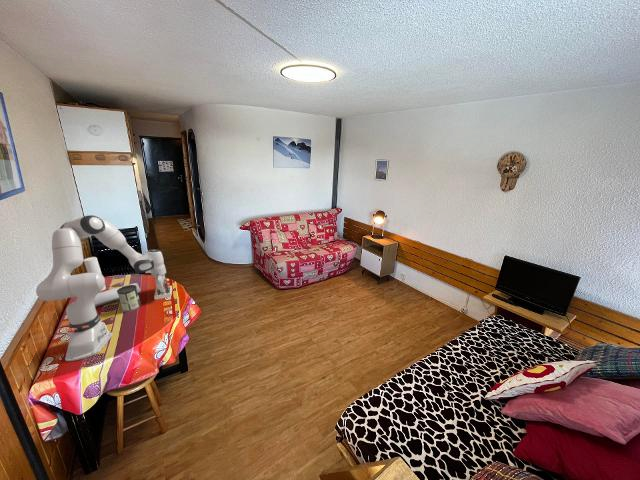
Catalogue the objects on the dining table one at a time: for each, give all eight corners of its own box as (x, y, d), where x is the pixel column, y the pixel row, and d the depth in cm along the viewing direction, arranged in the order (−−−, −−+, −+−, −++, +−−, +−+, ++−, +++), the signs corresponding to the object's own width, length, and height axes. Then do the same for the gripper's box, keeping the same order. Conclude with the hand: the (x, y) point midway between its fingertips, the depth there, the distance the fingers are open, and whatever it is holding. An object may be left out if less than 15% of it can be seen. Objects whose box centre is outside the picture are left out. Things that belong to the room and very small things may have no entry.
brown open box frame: (168, 295, 185) (165, 282, 182) (158, 297, 183) (155, 284, 179) (168, 291, 190) (166, 279, 187) (159, 293, 188) (156, 280, 184)
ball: (166, 294, 186) (165, 290, 185) (161, 295, 184) (160, 291, 184) (166, 292, 188) (165, 288, 187) (161, 293, 187) (160, 289, 186)
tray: (142, 295, 187) (140, 290, 186) (84, 312, 167) (83, 307, 166) (138, 286, 199) (137, 282, 198) (84, 301, 179) (82, 297, 178)
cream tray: (171, 297, 184) (170, 293, 182) (155, 300, 179) (154, 296, 178) (172, 289, 194) (171, 285, 193) (156, 292, 190) (156, 288, 189)
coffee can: (130, 302, 177) (125, 284, 172) (144, 303, 176) (140, 285, 171) (118, 311, 167) (112, 292, 163) (133, 312, 166) (127, 293, 162)
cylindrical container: (99, 292, 189) (89, 261, 181) (91, 291, 191) (81, 260, 183) (108, 287, 196) (99, 257, 188) (100, 286, 197) (91, 256, 189)
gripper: (162, 276, 173) (166, 294, 178) (164, 265, 190) (168, 281, 195) (151, 278, 170) (155, 296, 175) (154, 266, 188) (158, 283, 192)
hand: (162, 288), depth 185 cm, fingers open, 7 cm apart
